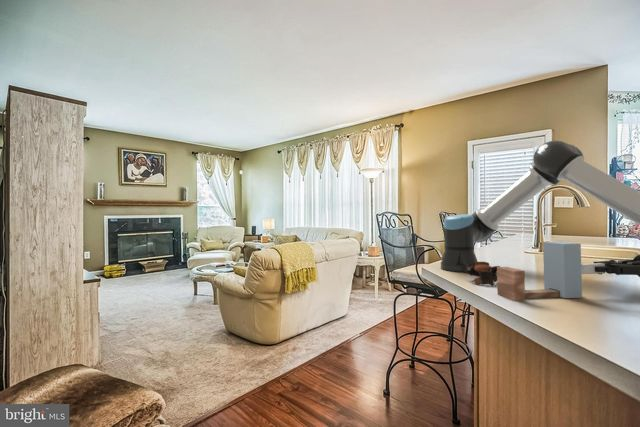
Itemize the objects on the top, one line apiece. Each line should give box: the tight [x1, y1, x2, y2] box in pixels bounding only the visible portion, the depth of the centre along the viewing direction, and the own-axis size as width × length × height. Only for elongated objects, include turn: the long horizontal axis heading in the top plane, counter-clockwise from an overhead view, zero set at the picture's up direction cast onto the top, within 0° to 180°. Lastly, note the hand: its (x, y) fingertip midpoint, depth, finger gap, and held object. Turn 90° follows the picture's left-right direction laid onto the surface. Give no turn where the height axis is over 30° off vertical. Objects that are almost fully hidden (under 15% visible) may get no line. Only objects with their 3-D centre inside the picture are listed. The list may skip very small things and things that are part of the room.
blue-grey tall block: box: [542, 241, 583, 299], centre depth 87 cm, size 5×7×15 cm
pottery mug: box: [464, 261, 501, 286], centre depth 105 cm, size 12×10×8 cm
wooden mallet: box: [496, 266, 561, 302], centre depth 86 cm, size 21×7×8 cm, turn 94°
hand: (581, 268), depth 87 cm, fingers closed
